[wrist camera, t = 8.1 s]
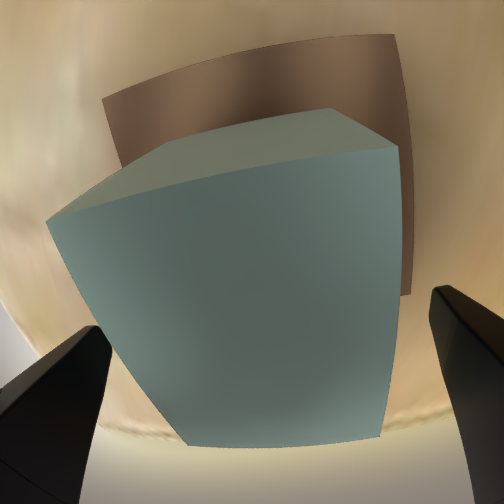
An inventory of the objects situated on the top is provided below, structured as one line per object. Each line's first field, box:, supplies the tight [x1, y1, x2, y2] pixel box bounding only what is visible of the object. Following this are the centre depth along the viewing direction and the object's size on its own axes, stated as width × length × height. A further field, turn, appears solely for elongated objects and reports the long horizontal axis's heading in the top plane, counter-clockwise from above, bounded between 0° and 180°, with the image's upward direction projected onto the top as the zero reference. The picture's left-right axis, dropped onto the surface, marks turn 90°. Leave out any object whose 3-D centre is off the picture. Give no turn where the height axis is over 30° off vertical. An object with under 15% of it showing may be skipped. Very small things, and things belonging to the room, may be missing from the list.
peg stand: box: [102, 34, 414, 296], centre depth 14 cm, size 14×14×4 cm
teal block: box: [45, 108, 402, 448], centre depth 9 cm, size 6×8×7 cm
